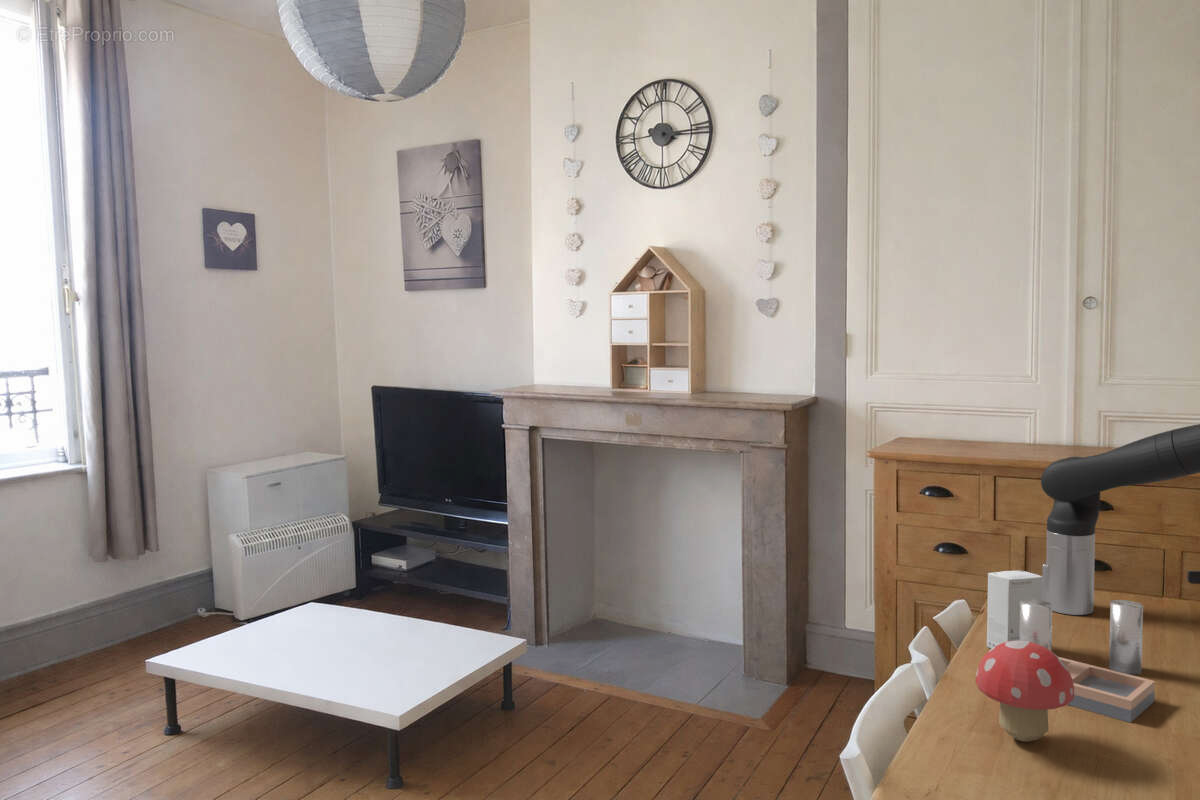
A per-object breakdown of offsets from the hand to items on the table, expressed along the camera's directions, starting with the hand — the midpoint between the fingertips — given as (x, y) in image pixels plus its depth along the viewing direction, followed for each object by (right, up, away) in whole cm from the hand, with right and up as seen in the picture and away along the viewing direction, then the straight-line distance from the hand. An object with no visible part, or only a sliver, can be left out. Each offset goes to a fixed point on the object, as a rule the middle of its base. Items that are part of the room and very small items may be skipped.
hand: (1198, 583), depth 153 cm
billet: (-11, -16, +4) cm, 20 cm away
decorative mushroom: (-41, -19, -22) cm, 50 cm away
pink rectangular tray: (-25, -17, -5) cm, 31 cm away
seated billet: (-29, -15, -1) cm, 33 cm away
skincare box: (-25, -16, +15) cm, 33 cm away
